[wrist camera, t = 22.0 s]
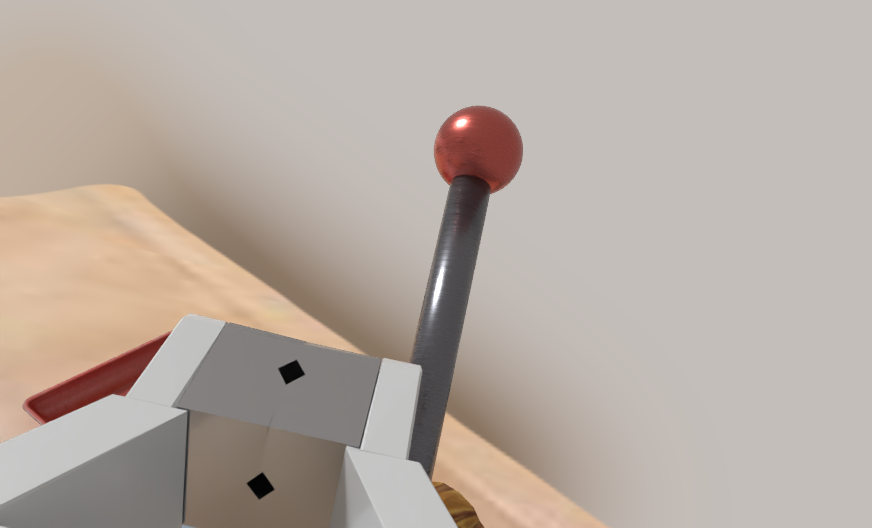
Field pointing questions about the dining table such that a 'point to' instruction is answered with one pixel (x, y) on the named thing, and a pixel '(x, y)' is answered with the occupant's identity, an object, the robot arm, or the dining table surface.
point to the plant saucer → (93, 383)
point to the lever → (457, 256)
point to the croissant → (458, 507)
